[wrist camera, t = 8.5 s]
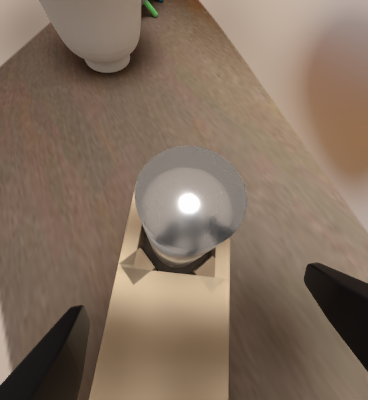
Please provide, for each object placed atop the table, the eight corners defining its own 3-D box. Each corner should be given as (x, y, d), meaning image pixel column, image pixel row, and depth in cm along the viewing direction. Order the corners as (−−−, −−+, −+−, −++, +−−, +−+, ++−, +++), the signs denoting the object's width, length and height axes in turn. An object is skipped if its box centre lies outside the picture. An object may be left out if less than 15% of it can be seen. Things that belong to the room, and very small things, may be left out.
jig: (214, 421, 14) (227, 458, 11) (96, 412, 13) (78, 447, 10) (221, 204, 20) (230, 192, 17) (140, 194, 19) (136, 179, 17)
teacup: (151, 20, 30) (145, -96, 21) (156, 91, 25) (151, -22, 15) (66, 16, 29) (19, -110, 19) (52, 91, 23) (-22, -34, 14)
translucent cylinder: (207, 259, 18) (265, 230, 7) (159, 274, 17) (149, 266, 7) (192, 213, 19) (223, 137, 9) (147, 225, 18) (124, 157, 8)
